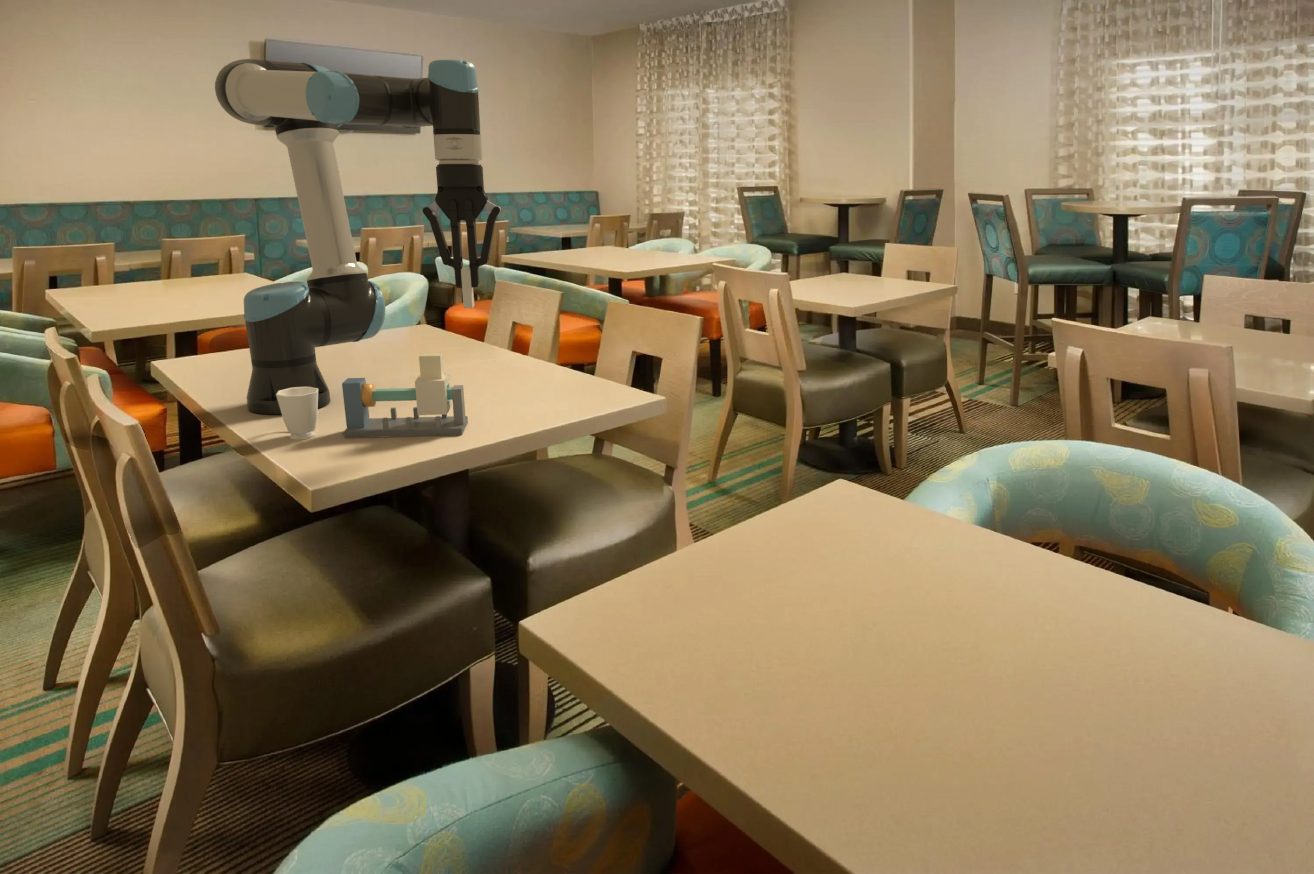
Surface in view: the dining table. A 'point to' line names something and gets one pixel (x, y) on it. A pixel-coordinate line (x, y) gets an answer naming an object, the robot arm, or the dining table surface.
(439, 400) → the sleeve
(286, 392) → the cup
